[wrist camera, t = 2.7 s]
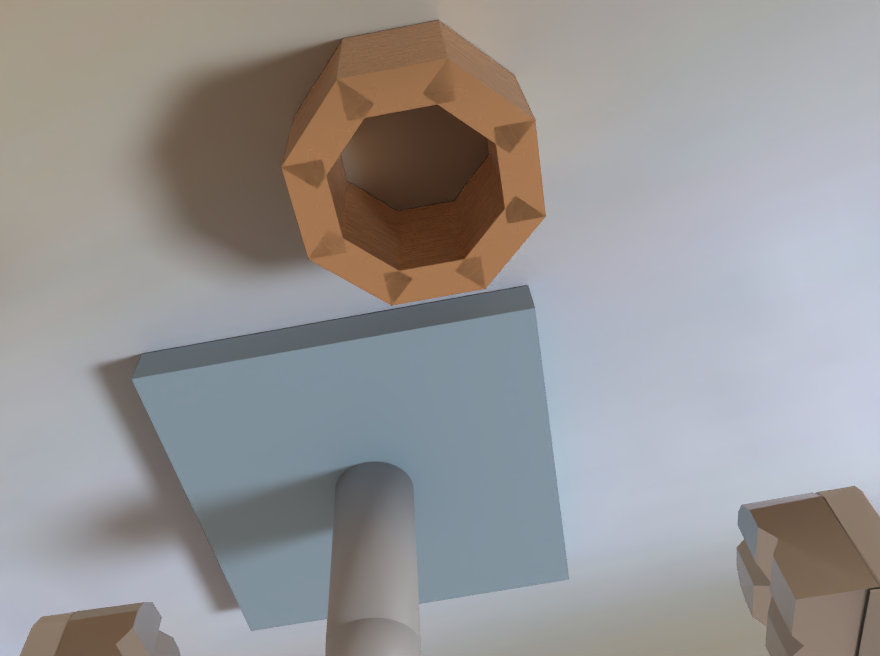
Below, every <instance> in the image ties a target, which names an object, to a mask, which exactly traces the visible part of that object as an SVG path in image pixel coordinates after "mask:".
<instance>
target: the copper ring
mask: <svg viewBox="0 0 880 656" xmlns="http://www.w3.org/2000/svg"><path fill="white" fill-rule="evenodd" d="M437 104H438V105H439V106H440V107H442V108H443V109H445V110H446V111H448V112H449V113H451V114H452V115H454V116H455V117H457V118H458V119H460V120H461V121H463V122H464V123H466V124H467V125H468V126H470V127H471V128H473V129H474V130H476V131H477V132H479V133H480V134H482V135H483V136H485V137H486V138H487V144H488V151H489V156H488V157H487V158H486V160H485V161H484V162H483V164H482V165H481V166H480V167H479V169H478V170H477V171H476V173H475V174H474V175H473V177H472V178H471V179H470V181H469V182H468V183H467V184H466V186H465V187H464V188H463V190H462V191H461V192H460V194H459V195H458V196H457V198H456V199H455V200H454V201H450V202H445V203H439V204H434V205H428V206H423V207H417V208H412V209H406V210H401V211H396V210H394V209H393V208H391V207H389V206H388V205H386V204H384V203H383V202H381V201H379V200H378V199H376V198H374V197H373V196H371V195H370V194H368V193H366V192H365V191H363V190H361V189H360V188H358V187H356V186H355V185H353V184H351V183H350V182H348V181H347V177H346V173H345V169H344V165H343V161H342V157H341V153H342V151H343V150H344V148H345V147H346V145H347V144H348V142H349V141H350V139H351V138H352V136H353V135H354V133H355V132H356V130H357V129H358V127H359V126H360V124H361V123H362V121H363V120H364V118H367V117H373V116H378V115H383V114H389V113H394V112H399V111H405V110H410V109H415V108H421V107H426V106H431V105H437ZM281 168H282V171H283V175H284V178H285V181H286V185H287V188H288V191H289V195H290V198H291V202H292V205H293V208H294V212H295V215H296V219H297V222H298V225H299V229H300V232H301V235H302V239H303V242H304V246H305V249H306V252H307V256H308V259H309V260H311V261H313V262H314V263H316V264H318V265H320V266H322V267H323V268H325V269H327V270H329V271H331V272H332V273H334V274H336V275H338V276H340V277H341V278H343V279H345V280H347V281H349V282H350V283H352V284H354V285H356V286H357V287H359V288H361V289H363V290H365V291H366V292H368V293H370V294H372V295H374V296H375V297H377V298H379V299H381V300H383V301H384V302H386V303H388V304H390V305H397V304H403V303H408V302H414V301H419V300H425V299H431V298H436V297H442V296H448V295H453V294H459V293H464V292H470V291H476V290H481V289H486V287H487V286H488V285H489V284H490V283H491V281H492V280H493V279H494V278H495V277H496V275H497V274H498V273H499V272H500V271H501V269H502V268H503V267H504V266H505V265H506V263H507V262H508V261H509V260H510V259H511V257H512V256H513V255H514V254H515V253H516V251H517V250H518V249H519V248H520V247H521V245H522V244H523V243H524V242H525V241H526V239H527V238H528V237H529V236H530V235H531V233H532V232H533V231H534V230H535V229H536V227H537V226H538V225H539V224H540V223H541V221H542V220H543V219H544V218H545V217H546V214H545V205H544V195H543V186H542V177H541V168H540V159H539V150H538V141H537V131H536V122H535V118H534V116H533V114H532V111H531V109H530V107H529V105H528V103H527V101H526V99H525V96H524V94H523V92H522V90H521V88H520V86H519V83H518V81H517V79H516V77H515V75H514V74H512V73H511V72H509V71H508V70H507V69H505V68H504V67H502V66H501V65H500V64H498V63H497V62H496V61H494V60H493V59H491V58H490V57H489V56H487V55H486V54H484V53H483V52H482V51H480V50H479V49H478V48H476V47H475V46H473V45H472V44H471V43H469V42H468V41H466V40H465V39H464V38H462V37H461V36H460V35H458V34H457V33H455V32H454V31H453V30H451V29H450V28H449V27H447V26H446V25H444V24H443V23H442V22H440V21H439V20H437V21H431V22H426V23H421V24H416V25H411V26H405V27H400V28H395V29H390V30H385V31H379V32H374V33H369V34H364V35H359V36H353V37H348V38H343V39H342V41H341V43H340V44H339V46H338V47H337V49H336V51H335V52H334V54H333V56H332V57H331V59H330V60H329V62H328V64H327V65H326V67H325V68H324V70H323V72H322V73H321V75H320V76H319V78H318V80H317V81H316V83H315V84H314V86H313V88H312V89H311V91H310V92H309V94H308V96H307V97H306V99H305V100H304V102H303V104H302V105H301V107H300V108H299V110H298V112H297V113H296V115H295V116H294V119H293V123H292V127H291V131H290V135H289V139H288V143H287V147H286V150H285V154H284V158H283V162H282V166H281Z"/></svg>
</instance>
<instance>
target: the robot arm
mask: <svg viewBox="0 0 880 656" xmlns="http://www.w3.org/2000/svg"><path fill="white" fill-rule="evenodd" d="M738 526H739V529H740V531H741V533H742V535H743V537H744V540H743V541H742V542H741V543H740V545H739V546H738V547H737V570H738V575H739V581H740V586H741V589H742V592H743V595H744V598H745V601H746V603H747V605H748V608H749V610H750V612H751V615H752V617H754V618H755V619H756V620H758V621H759V622H761V623H762V624H764V625H765V626H767V631H766V648H767V650H768V652H769V654H770V656H880V515H879V514H878V513H877V511H876V510H875V508H874V507H873V505H872V504H871V503H870V501H869V500H868V498H867V497H866V495H865V494H864V493H863V491H862V490H860V489H859V488H857V487H855V486H852V487H846V488H840V489H834V490H827V491H821V492H817V493H807V494H801V495H795V496H790V497H784V498H778V499H772V500H767V501H761V502H755V503H749V504H744V505H741V507H740V510H739V512H738ZM161 618H162V617H161V615H160V614H159V612H158V610H157V609H156V607H155V605H154V604H153V602H143V603H135V604H128V605H120V606H113V607H106V608H98V609H91V610H83V611H76V612H71V613H64V614H57V615H50V616H43V617H41V618H40V619H39V620H38V621H37V622H36V623H35V624H34V625H33V627H32V628H31V630H30V633H29V635H28V637H27V640H26V642H25V644H24V647H23V649H22V651H21V654H20V656H180V652H179V648H178V646H177V645H176V643H175V641H174V639H173V637H171V636H169V635H167V634H165V633H163V632H161V631H159V626H160V622H161Z"/></svg>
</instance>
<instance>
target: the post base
mask: <svg viewBox="0 0 880 656" xmlns="http://www.w3.org/2000/svg"><path fill="white" fill-rule="evenodd" d="M132 381H133V384H134V386H135V388H136V390H137V392H138V394H139V396H140V398H141V400H142V403H143V405H144V407H145V409H146V411H147V413H148V415H149V417H150V419H151V421H152V424H153V426H154V428H155V430H156V432H157V434H158V436H159V438H160V440H161V443H162V445H163V447H164V449H165V451H166V453H167V455H168V457H169V459H170V461H171V464H172V466H173V468H174V470H175V472H176V474H177V476H178V478H179V480H180V482H181V485H182V487H183V489H184V491H185V493H186V495H187V497H188V499H189V501H190V504H191V506H192V508H193V510H194V512H195V514H196V516H197V518H198V520H199V522H200V525H201V527H202V529H203V531H204V533H205V535H206V537H207V539H208V541H209V544H210V546H211V548H212V550H213V552H214V554H215V556H216V558H217V560H218V562H219V565H220V567H221V569H222V571H223V573H224V575H225V577H226V579H227V581H228V583H229V586H230V588H231V590H232V592H233V594H234V596H235V598H236V600H237V602H238V605H239V607H240V609H241V611H242V613H243V615H244V617H245V619H246V621H247V623H248V626H249V628H250V630H251V631H254V630H260V629H267V628H273V627H279V626H285V625H291V624H297V623H304V622H310V621H316V620H322V619H327V632H326V656H420V655H421V636H420V615H419V604H421V603H427V602H433V601H439V600H446V599H452V598H458V597H464V596H470V595H476V594H483V593H489V592H495V591H501V590H507V589H513V588H520V587H526V586H532V585H538V584H544V583H550V582H557V581H563V580H569V575H568V567H567V559H566V551H565V543H564V535H563V527H562V519H561V511H560V503H559V495H558V487H557V479H556V471H555V463H554V456H553V448H552V440H551V432H550V424H549V416H548V408H547V400H546V392H545V384H544V376H543V368H542V360H541V352H540V344H539V337H538V329H537V321H536V313H535V307H534V303H533V300H532V297H531V293H530V290H529V286H522V287H517V288H511V289H505V290H500V291H494V292H489V293H483V294H477V295H472V296H466V297H460V298H455V299H449V300H443V301H438V302H432V303H427V304H421V305H415V306H410V307H404V308H398V309H393V310H387V311H382V312H376V313H370V314H365V315H359V316H353V317H348V318H342V319H337V320H331V321H325V322H320V323H314V324H308V325H303V326H297V327H291V328H286V329H280V330H275V331H269V332H263V333H258V334H252V335H246V336H241V337H235V338H230V339H224V340H218V341H213V342H207V343H201V344H196V345H190V346H185V347H179V348H173V349H168V350H162V351H156V352H151V353H145V354H142V355H141V357H140V360H139V362H138V365H137V367H136V369H135V372H134V374H133V377H132Z"/></svg>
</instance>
